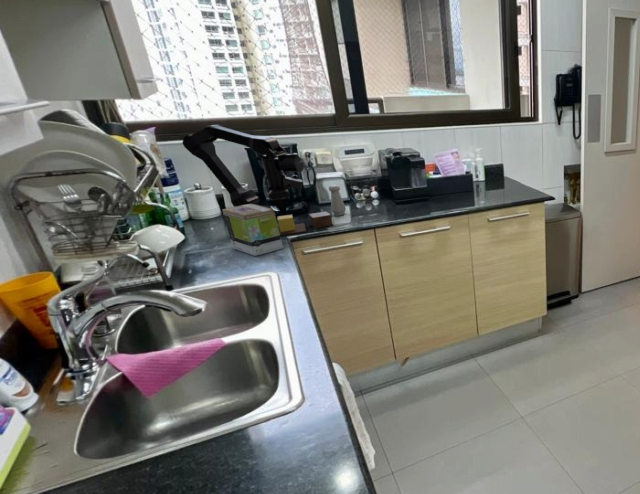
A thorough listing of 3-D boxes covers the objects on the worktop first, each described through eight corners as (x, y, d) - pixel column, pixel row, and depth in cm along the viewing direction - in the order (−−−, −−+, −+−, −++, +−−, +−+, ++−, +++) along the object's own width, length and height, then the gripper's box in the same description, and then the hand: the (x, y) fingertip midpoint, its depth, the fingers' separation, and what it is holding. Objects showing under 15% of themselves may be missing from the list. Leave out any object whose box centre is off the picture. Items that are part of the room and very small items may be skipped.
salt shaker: (342, 216, 203) (336, 187, 198) (329, 216, 203) (323, 186, 198) (349, 212, 208) (343, 183, 203) (336, 212, 208) (330, 183, 203)
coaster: (270, 237, 177) (270, 236, 177) (270, 228, 186) (270, 227, 186) (306, 232, 183) (306, 230, 183) (304, 224, 192) (304, 222, 192)
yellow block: (280, 231, 181) (277, 219, 179) (280, 228, 185) (277, 216, 183) (295, 229, 184) (292, 217, 182) (294, 226, 188) (292, 214, 186)
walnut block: (315, 228, 187) (312, 217, 185) (311, 224, 192) (308, 214, 190) (332, 225, 191) (330, 214, 189) (328, 221, 196) (326, 211, 194)
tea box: (284, 248, 166) (274, 208, 161) (254, 257, 158) (242, 215, 153) (262, 240, 173) (251, 202, 168) (232, 248, 165) (220, 208, 160)
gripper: (300, 174, 172) (309, 214, 178) (297, 165, 187) (305, 203, 193) (264, 177, 167) (275, 219, 173) (264, 168, 181) (274, 207, 187)
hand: (284, 211), depth 182 cm, fingers open, 9 cm apart
